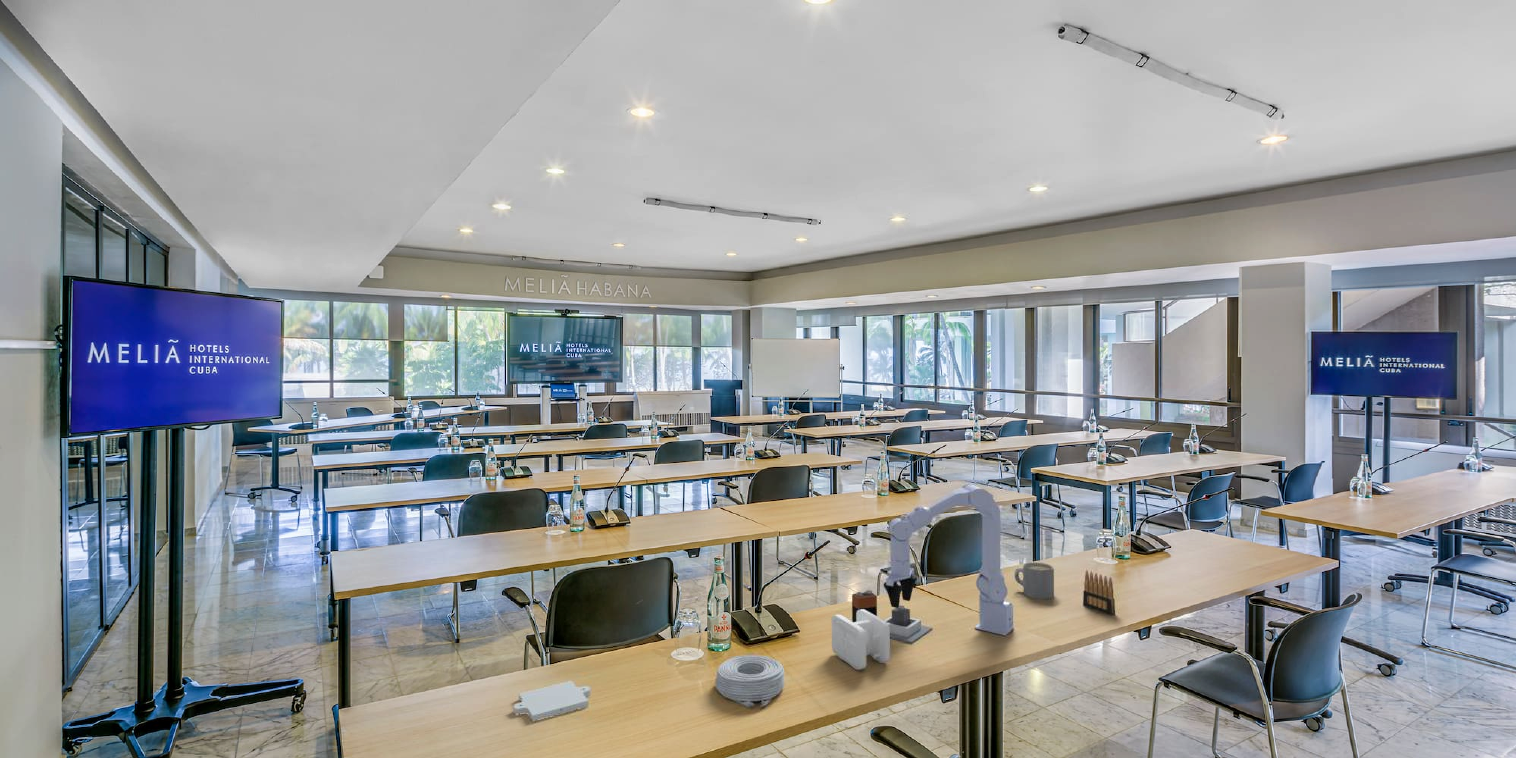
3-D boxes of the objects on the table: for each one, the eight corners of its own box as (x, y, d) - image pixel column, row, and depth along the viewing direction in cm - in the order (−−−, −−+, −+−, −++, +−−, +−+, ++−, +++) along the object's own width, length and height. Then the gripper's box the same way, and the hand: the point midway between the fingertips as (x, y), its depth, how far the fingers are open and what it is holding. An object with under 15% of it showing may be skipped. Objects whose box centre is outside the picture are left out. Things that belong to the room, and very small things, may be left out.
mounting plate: (521, 727, 154) (521, 718, 154) (508, 704, 165) (507, 696, 165) (598, 705, 163) (598, 697, 163) (581, 685, 174) (581, 677, 174)
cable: (761, 713, 159) (760, 687, 158) (700, 695, 168) (700, 670, 168) (797, 684, 173) (797, 660, 173) (739, 669, 183) (739, 646, 183)
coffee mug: (1059, 595, 239) (1059, 567, 239) (1042, 600, 234) (1042, 571, 234) (1026, 585, 250) (1026, 558, 250) (1009, 590, 245) (1009, 563, 245)
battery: (877, 624, 213) (877, 592, 213) (858, 627, 211) (857, 595, 211) (870, 619, 217) (870, 588, 217) (851, 622, 215) (851, 590, 215)
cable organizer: (892, 667, 182) (892, 623, 182) (859, 675, 178) (858, 630, 178) (861, 647, 196) (860, 606, 196) (829, 654, 191) (829, 612, 191)
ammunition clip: (1082, 605, 229) (1082, 569, 229) (1086, 604, 230) (1086, 569, 230) (1111, 615, 219) (1111, 578, 219) (1115, 614, 220) (1115, 577, 220)
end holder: (932, 629, 209) (932, 619, 209) (911, 643, 198) (911, 633, 198) (891, 619, 217) (890, 610, 217) (869, 632, 206) (869, 622, 206)
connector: (910, 628, 208) (909, 605, 208) (904, 632, 205) (903, 608, 205) (898, 626, 210) (897, 602, 210) (891, 629, 207) (891, 606, 207)
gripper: (899, 551, 216) (899, 594, 216) (876, 562, 204) (877, 607, 204) (920, 555, 211) (920, 599, 211) (898, 565, 200) (898, 612, 200)
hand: (900, 603), depth 208 cm, fingers open, 7 cm apart
